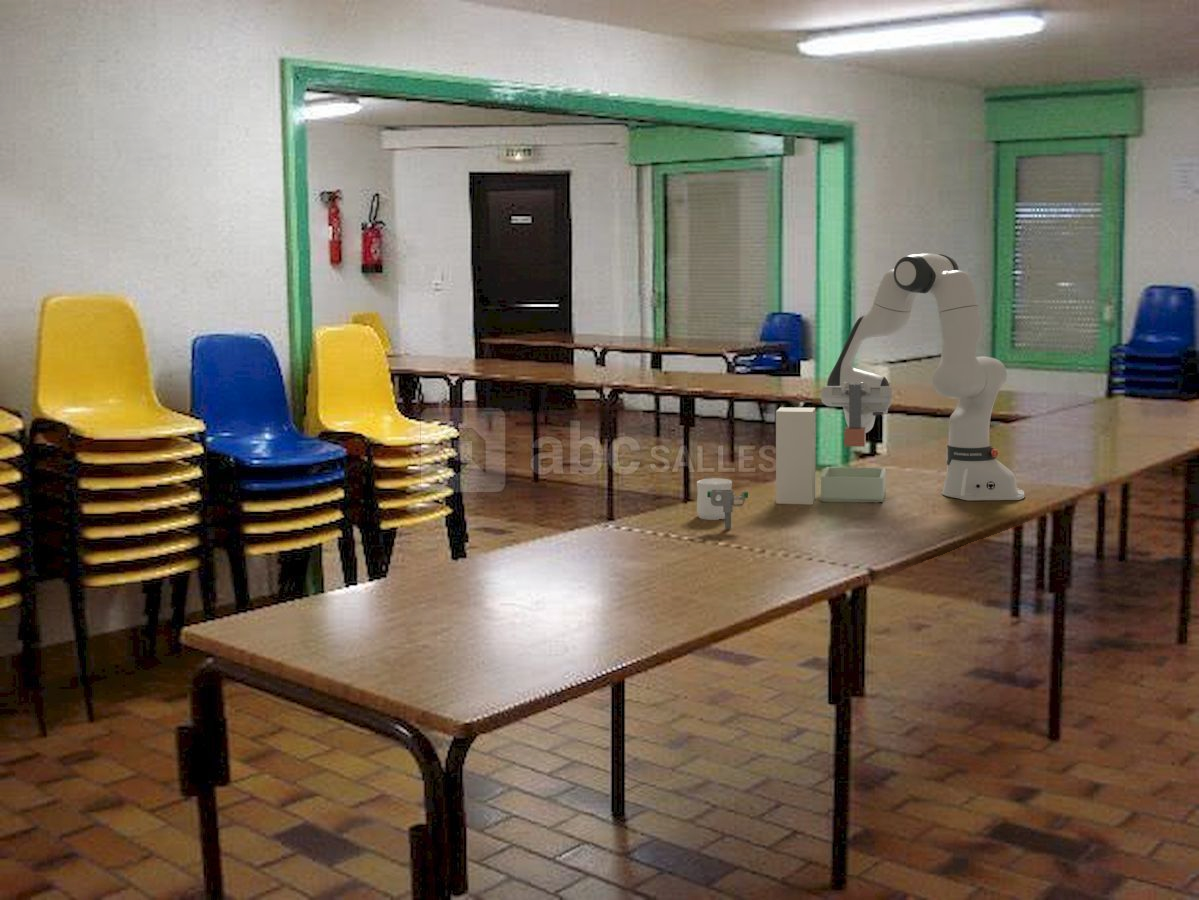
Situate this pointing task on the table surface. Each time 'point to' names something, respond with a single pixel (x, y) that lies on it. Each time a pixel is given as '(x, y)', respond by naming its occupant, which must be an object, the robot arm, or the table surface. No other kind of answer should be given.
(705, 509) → the cup
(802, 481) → the cream block
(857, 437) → the grey long block
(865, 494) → the green bin
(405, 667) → the table surface
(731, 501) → the mechanical component
